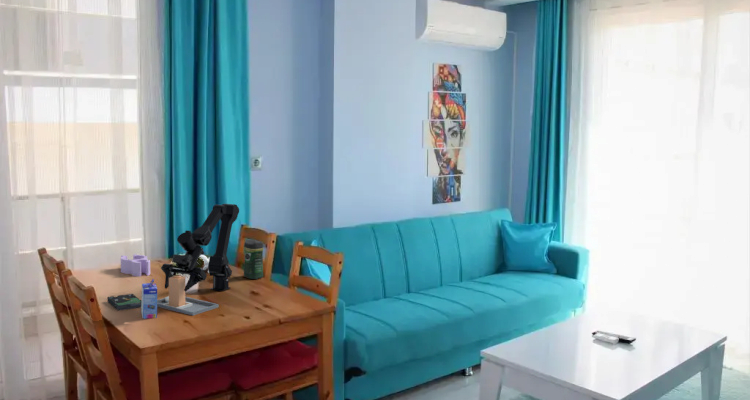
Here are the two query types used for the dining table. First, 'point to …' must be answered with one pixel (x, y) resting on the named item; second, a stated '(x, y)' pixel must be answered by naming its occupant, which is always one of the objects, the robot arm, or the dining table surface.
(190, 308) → the grey rectangular tray
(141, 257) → the clip
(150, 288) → the ink cartridge box
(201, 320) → the dining table surface
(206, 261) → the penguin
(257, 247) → the coffee jar
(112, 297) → the disk drive
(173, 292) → the block
